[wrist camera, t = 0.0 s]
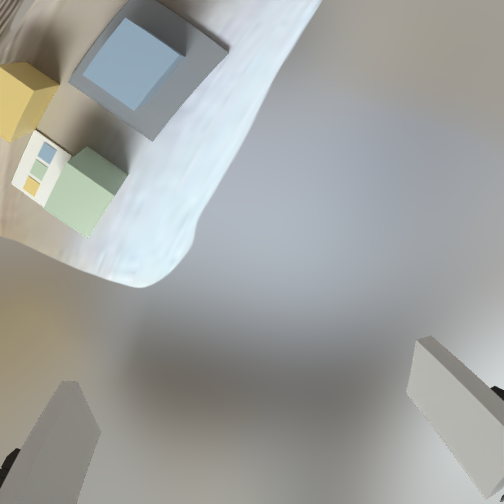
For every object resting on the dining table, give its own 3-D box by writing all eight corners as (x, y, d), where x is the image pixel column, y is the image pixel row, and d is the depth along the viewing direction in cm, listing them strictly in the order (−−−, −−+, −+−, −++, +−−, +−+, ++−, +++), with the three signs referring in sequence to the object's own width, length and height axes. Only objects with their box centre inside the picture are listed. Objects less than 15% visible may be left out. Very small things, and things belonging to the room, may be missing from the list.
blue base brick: (140, 25, 24) (125, 17, 19) (185, 57, 26) (179, 54, 21) (103, 72, 26) (82, 74, 21) (147, 102, 28) (134, 111, 23)
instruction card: (35, 129, 28) (34, 129, 28) (72, 155, 31) (71, 156, 30) (11, 182, 31) (10, 183, 30) (45, 207, 33) (44, 208, 33)
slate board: (140, -9, 22) (138, -11, 21) (228, 53, 27) (228, 53, 27) (70, 81, 26) (67, 82, 25) (153, 140, 31) (152, 141, 31)
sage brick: (87, 145, 31) (66, 162, 26) (128, 174, 33) (114, 195, 28) (64, 186, 33) (43, 208, 28) (103, 213, 35) (87, 238, 30)
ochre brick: (26, 61, 23) (-3, 65, 18) (60, 84, 26) (34, 91, 21) (3, 105, 26) (-26, 116, 21) (35, 129, 28) (9, 143, 23)
